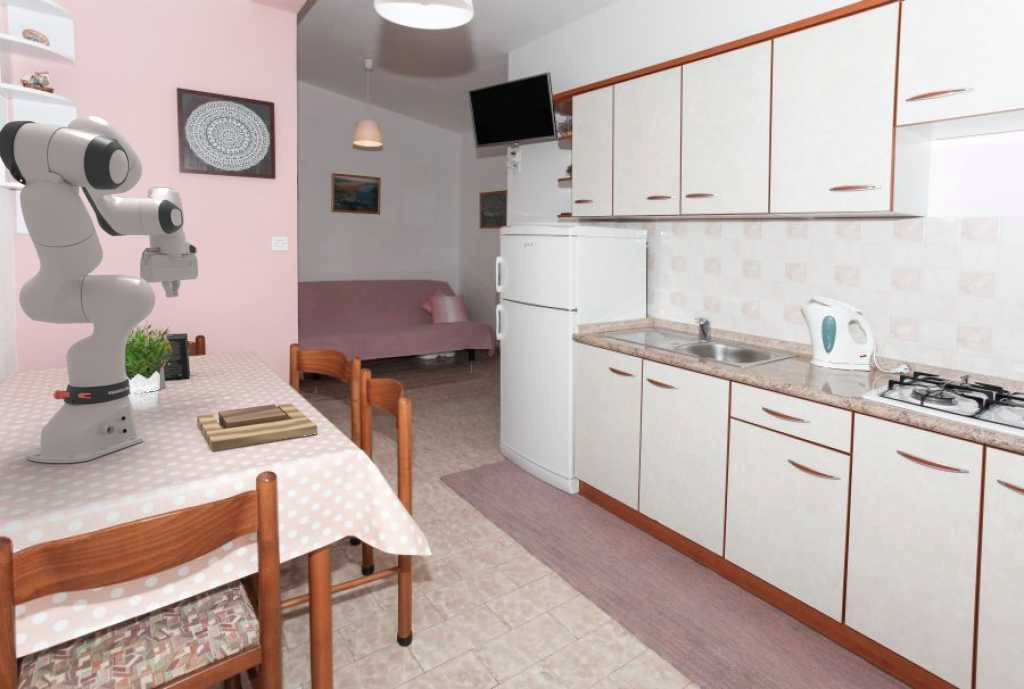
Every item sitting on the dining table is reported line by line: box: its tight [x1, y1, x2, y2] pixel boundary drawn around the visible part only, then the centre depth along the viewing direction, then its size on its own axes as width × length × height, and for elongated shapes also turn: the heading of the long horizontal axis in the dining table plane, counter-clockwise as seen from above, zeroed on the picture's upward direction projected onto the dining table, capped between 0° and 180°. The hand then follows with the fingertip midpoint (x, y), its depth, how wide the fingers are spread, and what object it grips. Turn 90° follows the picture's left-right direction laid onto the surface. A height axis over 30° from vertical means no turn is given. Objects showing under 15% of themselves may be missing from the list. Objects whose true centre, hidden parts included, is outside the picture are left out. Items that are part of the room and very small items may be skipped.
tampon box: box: [164, 332, 191, 382], centre depth 210 cm, size 11×9×15 cm
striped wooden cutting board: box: [196, 402, 318, 452], centre depth 154 cm, size 25×24×2 cm
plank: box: [218, 404, 286, 429], centre depth 157 cm, size 4×14×12 cm
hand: (172, 297), depth 172 cm, fingers closed
